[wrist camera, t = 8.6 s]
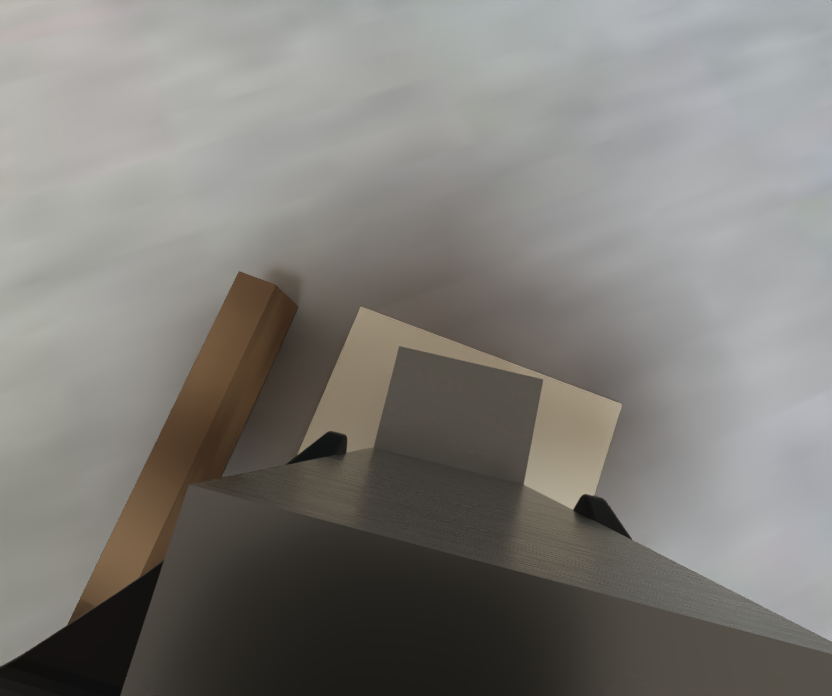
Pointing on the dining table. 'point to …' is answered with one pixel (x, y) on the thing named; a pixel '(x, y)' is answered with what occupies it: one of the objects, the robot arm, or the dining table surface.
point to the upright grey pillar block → (442, 576)
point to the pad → (559, 402)
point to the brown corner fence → (195, 432)
